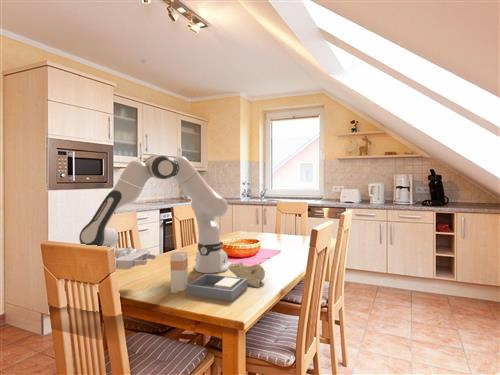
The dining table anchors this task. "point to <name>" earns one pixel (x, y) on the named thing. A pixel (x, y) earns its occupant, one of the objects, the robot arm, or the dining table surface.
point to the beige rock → (249, 273)
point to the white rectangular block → (227, 283)
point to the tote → (207, 290)
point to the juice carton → (179, 271)
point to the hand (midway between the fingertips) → (150, 259)
